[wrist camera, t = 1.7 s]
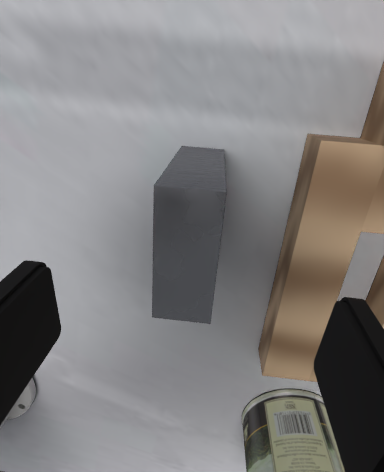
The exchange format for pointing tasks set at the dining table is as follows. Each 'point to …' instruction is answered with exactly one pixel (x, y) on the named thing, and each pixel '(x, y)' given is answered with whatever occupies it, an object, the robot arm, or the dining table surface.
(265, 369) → the wooden slotted base
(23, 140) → the dining table surface
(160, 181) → the tall grey upright slab
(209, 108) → the dining table surface
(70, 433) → the dining table surface
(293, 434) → the coffee can
